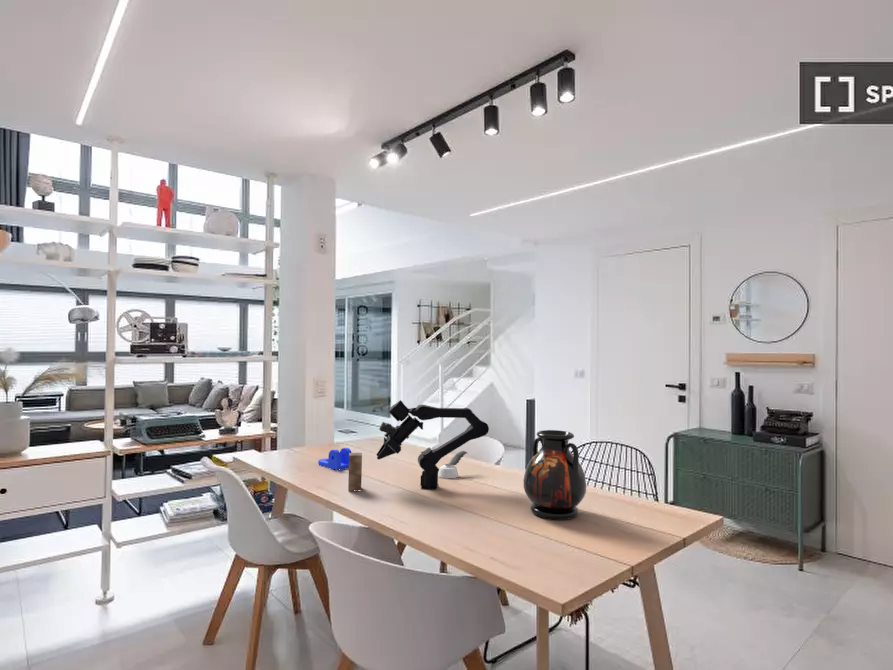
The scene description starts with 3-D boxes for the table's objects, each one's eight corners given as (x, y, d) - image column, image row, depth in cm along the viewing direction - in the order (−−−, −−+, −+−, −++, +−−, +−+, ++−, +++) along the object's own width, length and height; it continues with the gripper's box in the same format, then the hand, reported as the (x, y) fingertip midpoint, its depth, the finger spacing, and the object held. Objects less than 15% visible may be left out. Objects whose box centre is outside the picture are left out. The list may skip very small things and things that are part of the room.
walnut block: (361, 487, 210) (361, 452, 210) (361, 491, 205) (361, 455, 205) (348, 488, 209) (349, 452, 209) (348, 491, 204) (349, 455, 204)
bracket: (351, 468, 243) (352, 448, 244) (336, 471, 237) (337, 451, 238) (329, 461, 256) (330, 443, 256) (314, 464, 250) (315, 445, 250)
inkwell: (433, 476, 230) (433, 453, 230) (458, 469, 244) (458, 448, 244) (449, 480, 224) (450, 456, 225) (474, 472, 238) (474, 450, 239)
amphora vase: (510, 511, 183) (511, 431, 184) (549, 500, 197) (550, 426, 197) (559, 528, 166) (561, 440, 167) (598, 515, 180) (599, 434, 181)
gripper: (390, 412, 219) (363, 439, 217) (393, 418, 201) (363, 447, 199) (408, 431, 220) (381, 457, 218) (413, 438, 202) (383, 468, 200)
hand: (377, 457), depth 209 cm, fingers open, 5 cm apart
